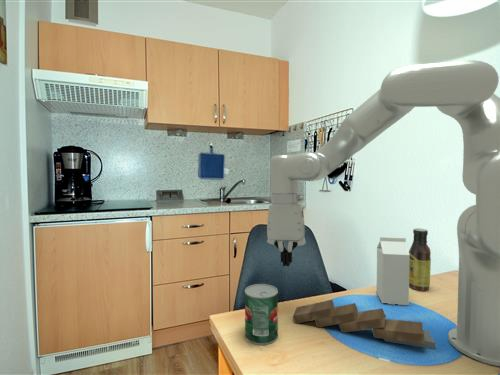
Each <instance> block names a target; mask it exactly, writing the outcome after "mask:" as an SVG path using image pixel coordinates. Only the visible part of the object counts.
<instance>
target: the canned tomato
mask: <svg viewBox="0 0 500 375" xmlns="http://www.w3.org/2000/svg"><path fill="white" fill-rule="evenodd" d="M278 294H279V290H278V288H277V287H276V286H274V285H271V284H268V283H255V284H252V285H249V286H246V287H245V289H244V330H245V331H244V335H245V336H244V337H245V340H246V341H247V342H249V343H251V344H253V345H258V346H266V345H271V344H273V343H274V342H276V341H277V339H278V337H279V332H278V330H279V323H278V322H279V320H278V319H279V308H278V304H279V302H278V301H279V297H278V296H279V295H278Z"/></svg>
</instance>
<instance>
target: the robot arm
mask: <svg viewBox="0 0 500 375" xmlns="http://www.w3.org/2000/svg"><path fill="white" fill-rule="evenodd" d="M499 77H500V76H499V74H498V72H497V70H496V68H495V67H494V66H493V65H491V64H490V63H488V62H485V61H482V60H475V59H474V60H473V59H471V60H470V59H469V60H457V61H455V60H454V61H445V62H433V63H432V62H431V63H423V64H411V65H405V66H401V67H397V68H396V69H393V70H392V71H390V72H389V73H388V74H387V75H386V76H385V77H384V78H383V80H382V82H381V86H380V89H378V90H377V91H376V92H375V93H373V94H372V95H371V96H370V97H369V98H368V99H367V100H365V101H364V102H363V103H362V104H360V105H359V106H358V107H357V108H356V109H354V110H353V111H352V112H351V113H349V114H348V115H346V117H345V118H344V119H343V120H342V122H341V124H340V125H339V127H338V128H337V131H335V133H334V135H332V137H331V138H330V139H329V140H328V141H326V143H325V144H324V145H322V146H320V147H319V148H318V149H317V150H316V151H315V152H313V151H308V152H307V151H306V152H302V153H297V154H278V155H274V156H272V157H271V159H270V160H269V161H270V163H269V164H270V165H269V167H270V193H271V194H270V199H271V203H270V204H269V205H268V210H267V211H268V213H267V219H266V220H267V222H266V225H267V226H266V237H267V240H266V243H267V244H269V245H273V246H274V247H276V248H277V249H278V251H279V252H280V263H282V267H290V265H291V263H293V250H294V249H295V248H296V247H300V246H304V245H306V242H307V241H306V238H305V235H306V230H305V228H306V227H305V216H304V209H303V205H302V204H301V203H300V202H301V201H304V200H305V195H301V194H300V192H299V181H303V182H313V181H320V180H322V179H324V178H325V177H328V175H330V174H331V173H332V172H334V171H335V170H336V169H338V168H339V167H340V166H342V165H343V164H344V163H346V162H347V160H349V159H350V158H351V157H353V156H354V155H355V154H357V153H358V152H360V151H361V150H362V149H363V148H365V147H367V145H369V144H370V143H371V142H373V141H374V140H375V139H376V138H377V137H379V136H380V135H381V134H382V133H384V132H385V131H386V130H388V129H389V128H390V127H391V126H393V125H394V124H396V123H397V122H398V121H400V120H401V119H403V118H404V117H405V116H406V115H407V114H409V113H410V112H411V111H413V109H414V108H419V107H421V108H425V107H427V108H428V107H430V108H431V107H436V108H437V110H438V111H439V112H441V113H442V114H444V115H446V116H449V117H451V118H452V119H453V120H455V121H456V122H457V123H458V124H459V126H460V129H461V131H462V140H463V141H462V142H463V149H462V150H463V153H462V154H463V155H462V156H463V157H462V159H463V161H462V182H463V186H464V187H465V188H466V190H467V191H468V192H469V193H471V194H472V195H475V204H473V205H471V206H469V207H467V208H466V209H465V210H464V211H462V212H461V214H460V215H459V217H458V219H457V225H456V226H457V227H456V234H457V244H458V245H457V246H458V278H457V279H458V280H457V282H458V284H457V286H458V287H457V314H456V315H457V317H456V319H457V320H456V321H457V322H456V327H455V328H451V329H450V330H449V331H448V334H447V335H448V336H447V337H448V341H449V343H450V345H452V346H453V347H454V348H455V349H456V350H457V351H459V352H460V353H462V354H464V355H465V356H467V357H469V358H470V359H474V360H476V361H479V362H482V363H484V364H488V365H491V366H495V367H500V96H498V95H497V94H496V93H495V92H496V91H497V89H498V85H499ZM285 242H288V243H287V248H286V245H285V244H286V243H285Z"/></svg>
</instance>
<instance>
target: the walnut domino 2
mask: <svg viewBox="0 0 500 375" xmlns="http://www.w3.org/2000/svg"><path fill="white" fill-rule="evenodd" d="M358 312H359V309H358V307H357V304H356V302H354V303H349V304H343V305H339V306H335V310H334V315H333V316H332V317H327V318H322V319H316V320H314V322H315V324H316V327H317V328H322V327H328V326H335V325H339V324H341V323H346V322H352V321H357V320H358Z"/></svg>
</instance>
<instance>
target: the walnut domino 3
mask: <svg viewBox="0 0 500 375" xmlns="http://www.w3.org/2000/svg"><path fill="white" fill-rule="evenodd" d="M385 319H387V316H386V313H385V312H384V309H383V308H381V307H380V308H377V309H369V310H364V311H358V320H357V321H352V322H346V323H341V324H338V327H339V329H340V332H341V333H350V332H358V331H366V330H373V329H375V328H383V327H384V325H385Z"/></svg>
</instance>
